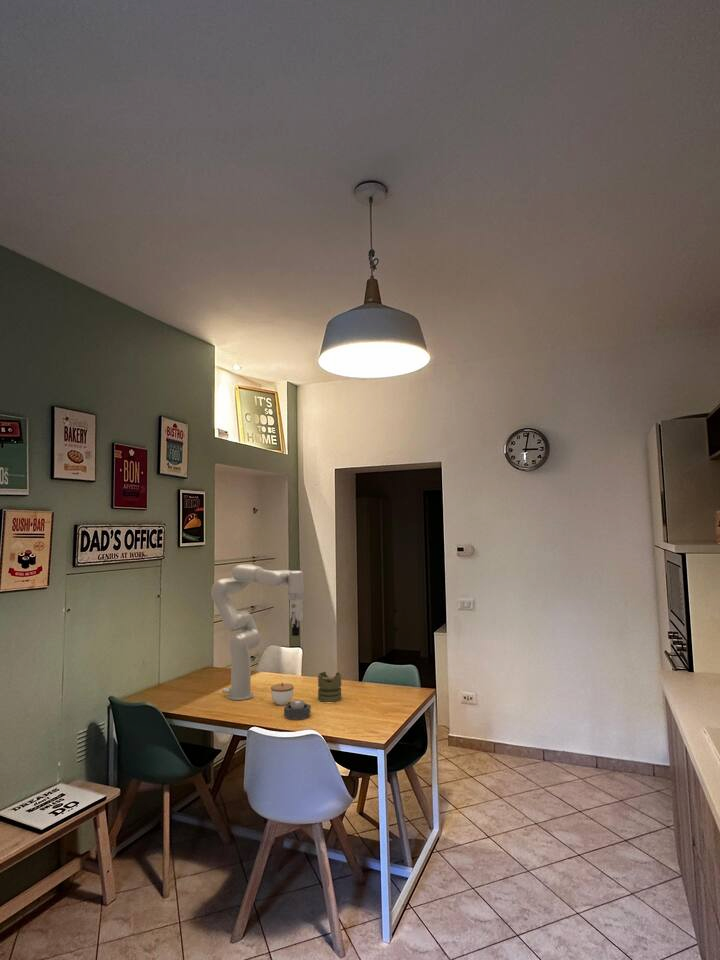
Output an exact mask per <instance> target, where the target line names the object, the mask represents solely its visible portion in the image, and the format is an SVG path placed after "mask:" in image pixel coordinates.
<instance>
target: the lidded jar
mask: <svg viewBox="0 0 720 960" xmlns="http://www.w3.org/2000/svg"><path fill="white" fill-rule="evenodd" d="M270 691H271V692H270V693H271V698H272V701H273V702H274V703H275V705H277V706H284V705H285V706H286V705H288V704H290V703H291V701H292V699H293V697H294V685H293V684H291V683H284V682H281V683H277V684H273V685H271V687H270Z"/></svg>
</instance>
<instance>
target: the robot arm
mask: <svg viewBox="0 0 720 960" xmlns="http://www.w3.org/2000/svg"><path fill="white" fill-rule="evenodd" d="M251 583H252V584H257V585H260V586H268V587H282V586H287V600H288V601H289V621H290V622H291V628H292V629H291V636H292V637H298V636H300V622H301V621H302V620H303V618H304V609H303V601H304V592H305V591H304V590H305V589H304V587H305V586H304V583H305V582H304V572H303V570H289V569H279V570H278V569H277V570H268V569H265V568H264V567H262V566H259V565H258V566H257V565H254V564H252V563H244V564H243V563H242V564H238V565H235V566H234V567H233V568H232V570H231V577H223V578H220V579H218V580H216V581H215V582H214V583H213V584H212V587H211V591H210V594H211V598H212V601H213V603H214V604H215V607H216V609H217V611H218V613H219V616H220V619H221V620H222V622H223V624H224V627H225V629H226V630H227V632H230V633H233V632H236V633H234V634H233V635H232V636H231V637H230V639H229V649H230V661H231V663H230V664H231V667H230V669H231V670H230V687H229V688H228V687H223V688H222V693H223V694H227V698H228V699H229V700H230V701H245V700H246V701H247V700H249V699H253V697H254V696H255V695H254V694H255V693H254V692H252V691H251V683H252V682H251V672H252V671H251V670H252V669H251V667H252V665H251V664H252V663H251V661H252V660H251V656H250V652H249V650H253V649H255V648H258V646H259V645H260V644H261V634H260V631H259V629H258V627H257V625H256V622H255V621H254V618H253V616H252V615H251V613H250V612H248V611H246V610H240V611H239V610H238V609H237V607H236V603H234V601H233V599H231V598H230V597H229V595H235V594H239V593H241V592H242V591H244V590H245V589H246V588H247V587H248V586H249V585H250V584H251Z"/></svg>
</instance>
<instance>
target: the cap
mask: <svg viewBox="0 0 720 960" xmlns="http://www.w3.org/2000/svg"><path fill="white" fill-rule="evenodd" d="M304 703H305V701H304V700H296V699H295V700H293V701H292V700H291V701H290V704H291V709H303V708H304Z"/></svg>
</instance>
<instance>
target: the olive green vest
mask: <svg viewBox="0 0 720 960" xmlns="http://www.w3.org/2000/svg"><path fill="white" fill-rule="evenodd" d="M317 686H318V689H317V692H318V695H317V698H318V699H317V701H318V700H319V701H318V702H321V703H324V702H334V703H338V702H341V701H340V700H342V688H341V687H342V672H339V671H336V673H335V675H334V676H328V675H327V673H326V671H323V672H319V673H318V674H317ZM337 701H338V702H337Z"/></svg>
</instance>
